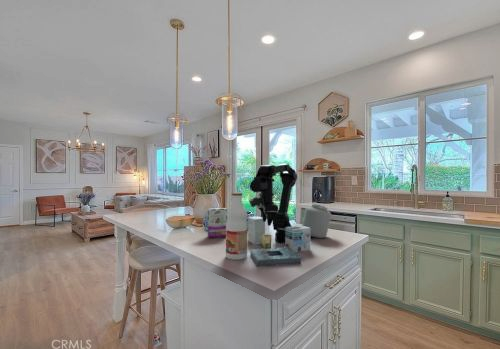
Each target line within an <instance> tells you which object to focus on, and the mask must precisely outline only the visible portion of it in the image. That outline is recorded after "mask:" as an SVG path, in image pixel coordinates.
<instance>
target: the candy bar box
mask: <svg viewBox="0 0 500 349" xmlns="http://www.w3.org/2000/svg"><path fill="white" fill-rule="evenodd" d="M227 209H228V207H216V208H213V207H212V208H211V207H210V208H207V238H208V239H211V238H212V239H214V238H215V239H216V238H226V223H227V215H226V212H227Z"/></svg>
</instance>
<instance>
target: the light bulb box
mask: <svg viewBox="0 0 500 349" xmlns="http://www.w3.org/2000/svg"><path fill="white" fill-rule="evenodd" d="M291 226H292V227H286V228H285V243H284V245H285V246H284V248H285V247H289V248H290V249H291V250H293V251H294V252H295V253H301V252H307V251H310V250H311V236H310V230H311V228H309V227H306V226H303V225H302V224H301V225H294V226H293V225H291Z"/></svg>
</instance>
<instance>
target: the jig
mask: <svg viewBox="0 0 500 349" xmlns="http://www.w3.org/2000/svg"><path fill="white" fill-rule="evenodd" d="M250 256H251V258H252V260H253V262H254V263H255V265H256V266H257V267H258V268H259V267H271V266H272V267H273V266H287V265H288V266H289V265H300V264H302V257H301V256H300V255H299V254H298V253H297V252H294V251H293V250H291V249H290V248H289V247H285V246H284V247H271V248H267V249H262V248H253V249H252V248H251V249H250Z"/></svg>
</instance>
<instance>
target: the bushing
mask: <svg viewBox="0 0 500 349" xmlns="http://www.w3.org/2000/svg"><path fill="white" fill-rule="evenodd" d="M267 248H272V235H271V234H269V233H265V234H263V235H262V244H261V249H267Z"/></svg>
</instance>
